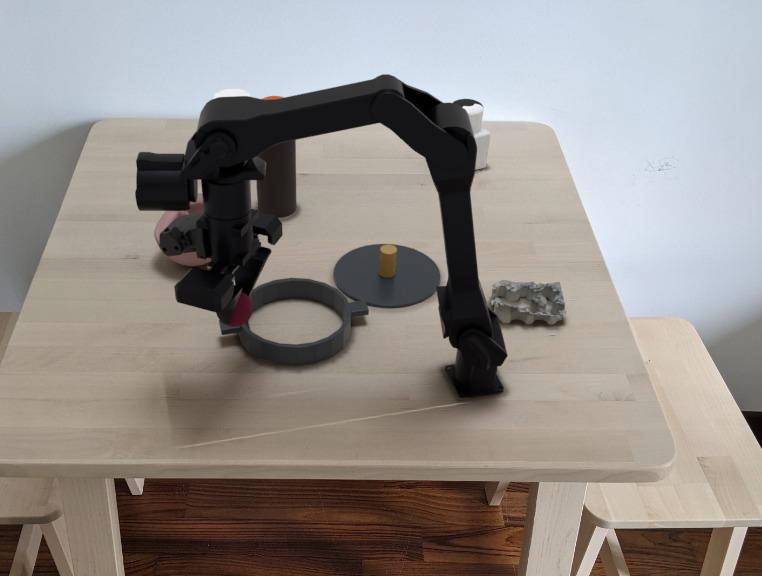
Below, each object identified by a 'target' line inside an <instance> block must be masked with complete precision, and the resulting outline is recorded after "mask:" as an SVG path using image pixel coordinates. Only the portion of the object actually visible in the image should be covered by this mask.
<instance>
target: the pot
mask: <svg viewBox="0 0 762 576" xmlns="http://www.w3.org/2000/svg"><path fill="white" fill-rule="evenodd" d="M249 298H250V300H251V302H252V313H253V312H255V311H257V310H258V309H259V308H262V307H263V306H265V305H268V304H270V303H274V302H276V301H282V300H289V299H290V300H291V299H297V300H298V299H299V300H309V301H314V302H317V303H321V304H323V305H325V306H327V307H329V308H330V309H332V310H334V311H335V312H336V313H337V314H338V315H339V316H340V317H341V318H342V321H343V322H342V323H341V326H340V327H339V328H338V329H336V330H335V331H334V332H332V333H331V334H330V335H328V336H326V337H324V338H321V339H318V340H315V341H310V342H304V343H283V342H282V343H281V342H276V341H274V340H270V339H267V338H264V337H262V336H260V335H258V334H257V333H255V332H254V331H252V329H251V327H250V323H249V320H248V321H247V322H246V323H245V324H243V325H241V326H237V327H231V326H227V325H225V324H223V323H221V321H220V320H219V319H218V324H219V325H218V326H219V329H220V333H221V334H220V335H221V336H225V335H234V334H238V336H239V340H240V344H241V346H243V347H244V349H245V350H246V352H248V353H249V354H250V355H252V356H253V357H254V358H256V359H260V360H262V361H265V362H269V363H272V364H276V365H280V366H294V367H296V366H297V367H298V366H306V365H312V364H313V365H314V364H317V363H320V362H322V361H326V360H328V359H330V358H332V357H334V356H335V355H336V354H338V353H339V352H340V351H342V350H343V349H344V348H345V346H346V344H347V343H348V342H349V340H350V339H351V330H352V329H351V328H352V318H356V317H363V316H369V314H370V309H369V307H368V305H366V302H365V301H350V302H349V300H348V298H347V296H346V295H345V294H344V293H343V292H342V291H341V290H340V289H339V288H336V287H334V286H331V285H330V284H328V283H326V282H323V281H319V280H314V279H312V278H311V279H310V278H304V277H287V278H286V277H285V278H279V279H274V280H271V281H268V282H264V283H262V284H259V285H258V286H256V287H254V288H253V290H252V292H251V295H250V297H249Z"/></svg>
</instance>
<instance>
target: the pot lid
mask: <svg viewBox="0 0 762 576" xmlns="http://www.w3.org/2000/svg"><path fill="white" fill-rule="evenodd" d="M333 279H334V283H335V284H336V286H337V289H338V290H339V291H340V292H341V293H342V294H343V295H344V296H346V297H348V298H350V299H351V300H354V302H356V301H365V302H366V305H367V306H371V307H377V308H384V309H385V308H386V309H390V308H391V309H393V308H395V309H396V308H404V307H410V306H414V305H417V304H419V303H422V302H423V301H425V300H427V299H429V298H430V297H432V295H434V294H435V293H436V292H437V291H436V286H440V284H441V271H440V269H439V267H438V265H437V264H436V262H435V261H434V260H433V258H431V257H429V256H428V255H427V254H425V253H423V252H421V251H419V250H417V249H415V248H412V247H409V246H406V245H401V244H400V245H399V244H394V243H374V244H367V245H363V246H360V247H357V248H353V249H352V250H350V251H348V252H346V253H345V254H343V255H342V256H341V257H340V258H339V259H338V261H336V263H335V265H334V269H333Z"/></svg>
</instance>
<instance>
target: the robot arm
mask: <svg viewBox="0 0 762 576" xmlns="http://www.w3.org/2000/svg"><path fill="white" fill-rule="evenodd" d="M376 124H381V125H382V126H384V127H385V128H387V129H389V130H391V132H393V133H394V135H396V136H397V137H398V138H399V139H400V140H401V141H403V143H405V144H406V145H407V146H408V147H409V148H410V149H411V150H413V151H414V152H415V153H417V154H419V155H420V156H422V157H423V158H425V163H426V165H427V168H428V170H429V175H430V176H431V179H432V182H433V185H434V187H435V190H436V192H437V194H438V196H437V197H438V203H439V211H440V212H439V213H440V221H441V228H442V236H443V244H444V252H445V260H446V269H447V281H446V284H445V285H439V286H436V291H435V292H436V296H437V303H438V309H437V310H438V314H439V320H440V327H441V333H442V338H443V339H444V340H445V339H447V338H448V342H449V344H450V346H451V347H452V348H453V349H456V355H455V361H454V364H447V365H445V367H444V372H445V374H446V375H447V377H448V379H449V381H450V383H451V385H452V386H453V389H454V391H455V393H456V394H457V396H458V398H460V399H464V398H465V399H466V398H473V397H479V396H486V395H492V394H500V393H503V392H504V390H505V387H504V385H503V383H502V382H501V380H500V377H499V376H498V375H497V372H498V367H502V365H503V364H504V363H505V361H506V359H507V358H508V357H509V356H508V351H507V347H506V342H505V338H504V334H503V330H502V326H501V321H500V320H499V318H498V315H497V314H496V313H495V312H494V309H492V308H491V307H489V305H488V303H487V298H486V295H485V293H484V289H483V287H482V283H481V281H480V279H479V270H478V269H479V268H478V259H477V246H476V238H475V228H474V216H473V207H472V196H471V190H472V185H473V182H474V179H475V175H476V170H475V167H476V158H477V145H476V141H475V137H474V133H473V130H472V126H471V122H470V119H469V115H468V113H467V111H466V110H465V109H464V108H462V107H461V106H459V105H458V104H454V103H453V102H443V101H442V100H440V99H438V98H437V97H436V96H434V95H432V94H431V93H430V92H428V91H425V90H423V89H420V88H417V87H415V86H412V85H410V84H407V83H405V82H404V81H402V80H401V79H399V78H398V77H396V76H394V75H392V74H387V73H385V74H381V75H377V76H376V77H374V78H372V79H366V80H362V81H358V82H354V83H353V82H352V83H348V84H343V85H337V86H334V87H328V88H324V89H318V90H315V91H309V92H305V93H300V94H294V95H291V96H286V97H285V96H284V98H280V99H273V100H263V98H258V97H253V96H251V97H249V96H235V97H218V98H215V99H214V98H213V99H210V100H209V101H207V102H206V103H205V105H204V106H203V107H202V109H201V110H200V113H199V118H198V123H197V127H196V131H195V132H194V133H193V134H192V135H191V137H190V138H189V140H188V141H187V143H186V147H185V152H184V153H159V152H158V153H155V152H151V151H139V152H138V154H137V156H136V160H135V164H136V175H135V176H136V179H135V184H136V185H135V186H136V187H135V193H134V196H135V203H136V208H137V209H138V211H139V212H166V211H188V209H190V201H191V202H197V197H198V193H199V183H198V182H199V181H200V184H201V193H202V197H203V208H204V213H195V214H187V215H181V216H179V217H177V218H175V219H174V220H173V221H172V222H171V223H170V224H169V225H168V226H167V227H166V228H165V229H164V230H163V231H162V232H161V233H160V237H159V238H160V244H159V246H158V248H159V247H160V248H161V249H162V251H163V252H162V251H161V252H162V254H164V256H166V257H167V256H177V255H181V254H182V253H191V252H196V254H197V258H200V259H204V260H206V259H207V258H210V259H211V261H210V262H208V263H207V265H206V267H207V269H205V268H201V267H198V266H192V267H191V268H189V269H188V270H187V271H186V272H185V274H184V275H183V276H181V278H180V279H179V280H178V281H177V282H176V284H174V285H173V288H174V297H175V300H176V302H177V303H178V304H182V305H186V306H190V307H194V308H198V309H201V310H205V311H209V312H213V313H215V314H216V316H217V315H218V317H219V318H218V317H217V318H218V320H219V319H220V321H221V323H223V324H226V325H229V324H230V323H231V320H232V318H233V315H234V312H235V309H236V306H237V303H238V300H239V297H240V294H241V291H242V292H244V293H245V294H246V295H247V296H248V297H250V295H251V292H252V290H253V289H255V285H256V284H257V282H258V280H259V277H260V275H261V273H262V271H263V269H264V267H265V265H266V263H267V261H268V259H269V257H270V256H271V254H272V249H271V248H270V247H266V246H262V242H261V241H260V238H259V237H260V236H259V235H261V236H265V237H267V243H268V244H269V245H272V246H276V244H277V243H278V242H279V241H280V240H281V238H282V237H283V222H282V221H281V220H280V218H277V217H276V216H274V215H270V214H265V213H261V212H259V211H258V209H254V208H252V206H253V205H252V187H251V181H256V180H264V179H265V172H266V162H265V161H264V160H262V159H261V158H259V157H257V156H258V155H260V154H261V153H263V152H264V151H266V150H267V149H269V148H270V147H272V146H274V145H277V144H280V143H283V142H287V141H292V140H296V141H297V140H301V139H306V138H307V139H308V138H311V137H312V138H313V137H317V136H321V135H327V134H331V133H332V134H333V133H337V132H342V131H347V130H351V129H356V128H362V127H367V126H371V125H376ZM160 248H159V249H160ZM161 249H160V250H161Z"/></svg>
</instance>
